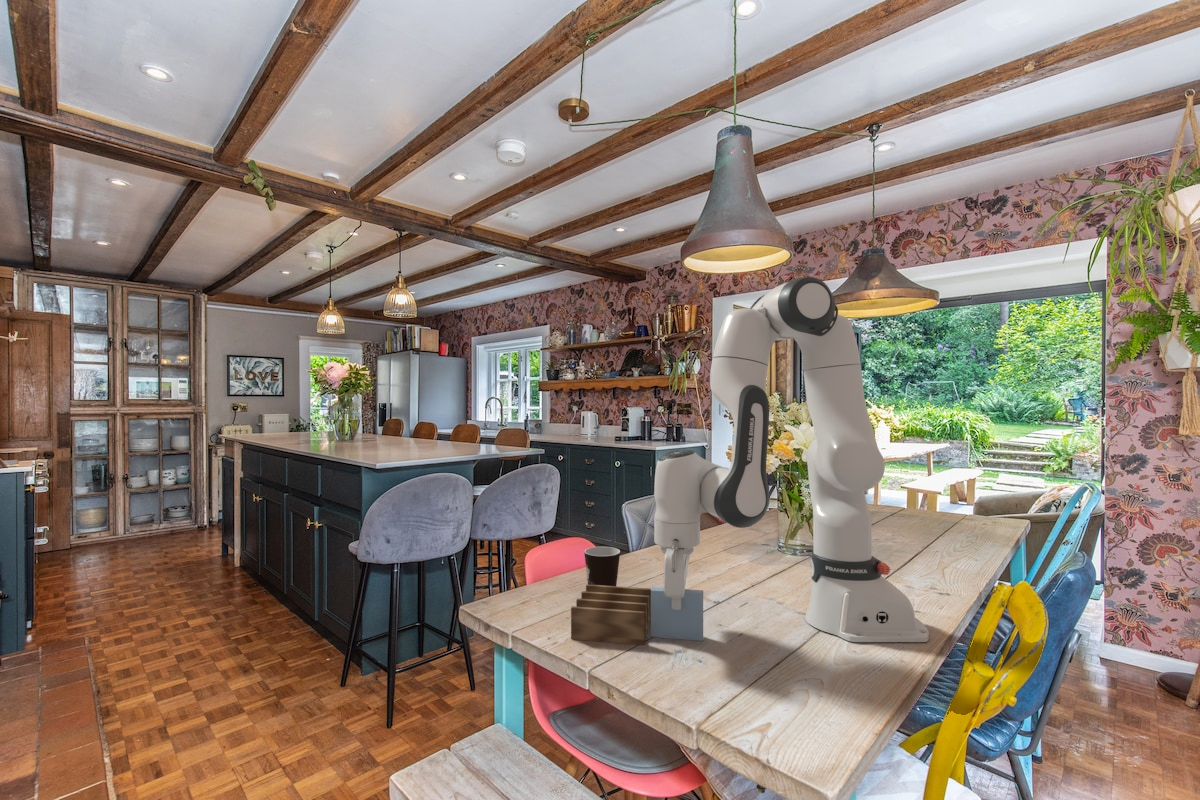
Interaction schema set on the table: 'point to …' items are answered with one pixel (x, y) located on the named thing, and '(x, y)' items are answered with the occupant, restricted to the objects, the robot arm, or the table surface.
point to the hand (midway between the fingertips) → (677, 605)
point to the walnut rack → (612, 614)
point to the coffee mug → (602, 565)
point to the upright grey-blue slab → (677, 615)
